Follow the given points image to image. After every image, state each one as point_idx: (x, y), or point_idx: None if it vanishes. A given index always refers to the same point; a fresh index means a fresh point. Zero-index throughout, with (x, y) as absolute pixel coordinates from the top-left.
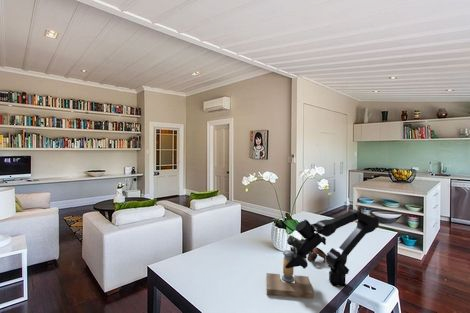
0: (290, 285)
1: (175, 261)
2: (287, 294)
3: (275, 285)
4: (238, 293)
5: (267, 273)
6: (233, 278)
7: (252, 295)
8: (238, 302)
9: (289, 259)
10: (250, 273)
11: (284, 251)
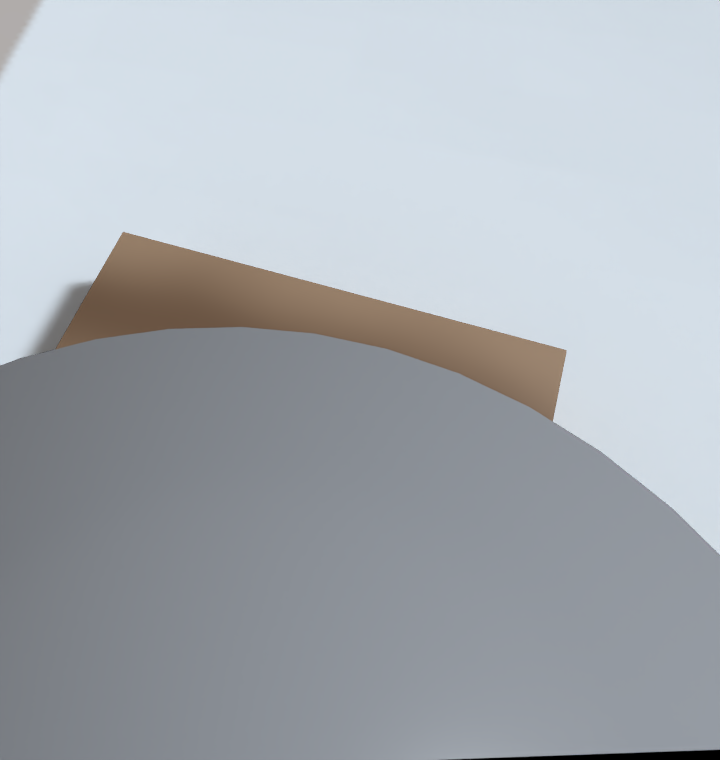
0: None
1: None
2: None
3: None
4: (252, 42)
5: (552, 360)
6: (543, 39)
7: (182, 142)
8: (115, 24)
9: None
10: (671, 216)
11: (555, 567)
